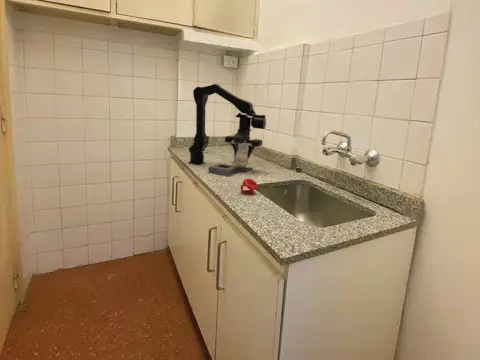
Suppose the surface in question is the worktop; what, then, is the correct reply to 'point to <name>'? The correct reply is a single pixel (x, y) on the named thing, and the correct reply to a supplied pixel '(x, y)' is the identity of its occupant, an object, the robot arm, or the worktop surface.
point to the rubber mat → (244, 169)
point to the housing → (223, 169)
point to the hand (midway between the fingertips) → (242, 157)
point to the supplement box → (241, 148)
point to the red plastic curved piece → (249, 185)
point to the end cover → (241, 158)
